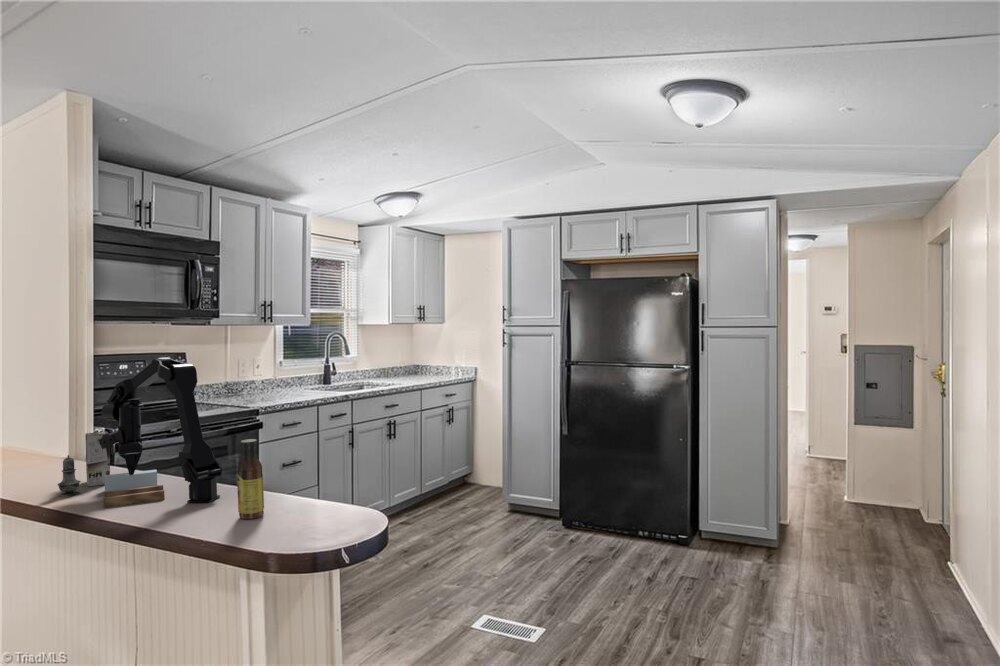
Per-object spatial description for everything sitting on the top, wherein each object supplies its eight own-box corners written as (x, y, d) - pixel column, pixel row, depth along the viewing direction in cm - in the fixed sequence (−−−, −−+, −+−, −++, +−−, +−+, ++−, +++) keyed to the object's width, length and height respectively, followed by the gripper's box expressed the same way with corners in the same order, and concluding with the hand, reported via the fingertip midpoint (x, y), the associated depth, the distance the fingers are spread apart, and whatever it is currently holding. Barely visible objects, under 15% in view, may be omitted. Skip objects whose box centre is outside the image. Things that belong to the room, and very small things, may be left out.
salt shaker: (69, 497, 191) (68, 457, 191) (52, 496, 192) (51, 456, 192) (85, 492, 197) (84, 453, 197) (69, 491, 198) (68, 452, 198)
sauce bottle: (244, 513, 170) (242, 437, 170) (268, 513, 170) (266, 437, 169) (233, 520, 163) (231, 442, 163) (258, 520, 163) (256, 442, 163)
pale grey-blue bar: (156, 485, 205) (156, 469, 205) (157, 487, 202) (156, 471, 202) (105, 491, 198) (104, 475, 198) (104, 494, 195) (104, 477, 195)
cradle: (163, 492, 194) (163, 484, 194) (164, 499, 186) (164, 490, 186) (104, 500, 187) (104, 491, 186) (103, 507, 179) (103, 498, 179)
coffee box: (111, 483, 208) (109, 433, 208) (87, 487, 204) (85, 436, 204) (109, 478, 215) (107, 430, 215) (86, 481, 212) (84, 432, 212)
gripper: (100, 421, 204) (102, 470, 204) (97, 428, 188) (99, 481, 188) (141, 417, 210) (142, 465, 210) (141, 424, 193) (143, 476, 194)
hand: (131, 472), depth 200 cm, fingers open, 9 cm apart
